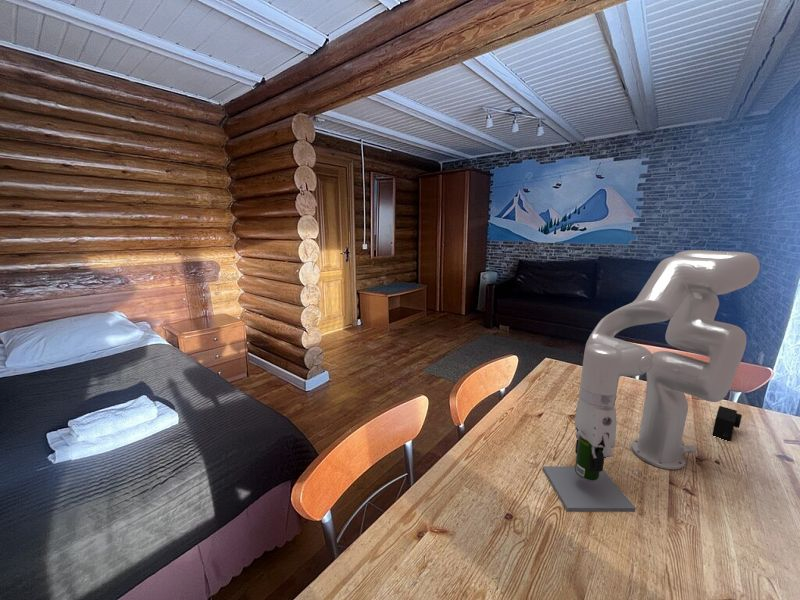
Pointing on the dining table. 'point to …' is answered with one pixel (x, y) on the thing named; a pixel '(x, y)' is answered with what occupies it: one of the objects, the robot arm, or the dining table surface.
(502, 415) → the dining table surface
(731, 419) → the digital camera
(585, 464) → the beer can
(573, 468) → the mat
